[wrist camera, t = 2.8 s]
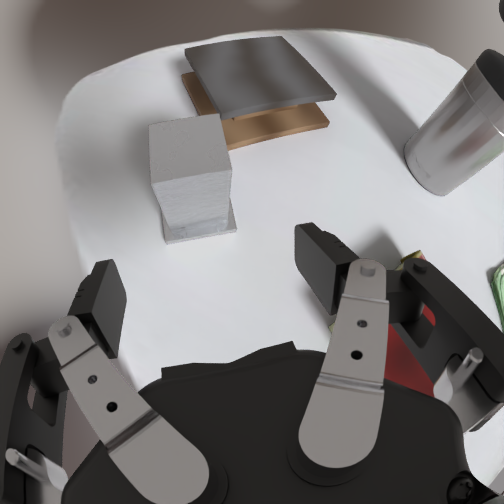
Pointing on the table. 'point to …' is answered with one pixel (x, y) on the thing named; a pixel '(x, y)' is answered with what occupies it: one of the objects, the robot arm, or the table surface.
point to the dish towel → (499, 291)
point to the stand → (256, 89)
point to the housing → (191, 177)
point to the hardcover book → (405, 354)
